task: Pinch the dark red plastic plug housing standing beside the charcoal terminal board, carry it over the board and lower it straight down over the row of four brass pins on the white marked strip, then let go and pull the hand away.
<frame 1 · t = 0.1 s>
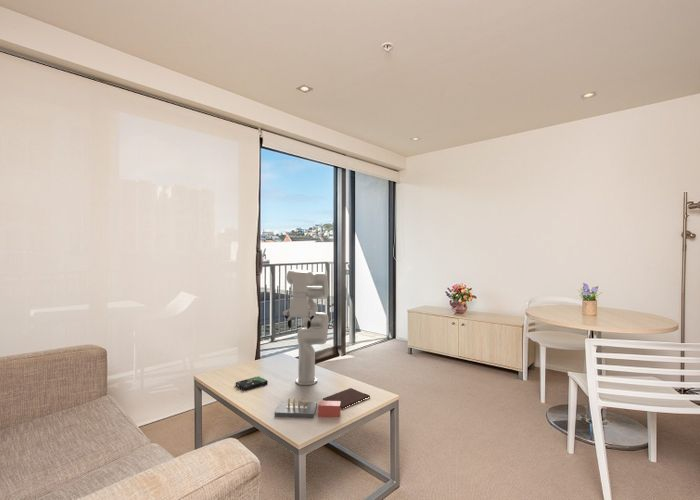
hand: (299, 328, 182), 37 cm above the table, fingers open, 9 cm apart
notebook: (346, 400, 182), on the table
terminal board: (296, 411, 167), on the table
disk drive: (251, 386, 199), on the table
plug housing: (329, 414, 165), on the table
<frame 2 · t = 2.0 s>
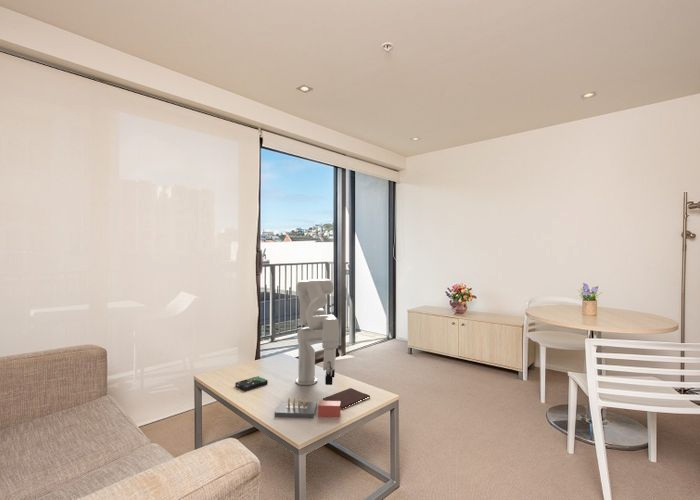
hand: (330, 380, 164), 16 cm above the table, fingers open, 9 cm apart
nothing on the table moved.
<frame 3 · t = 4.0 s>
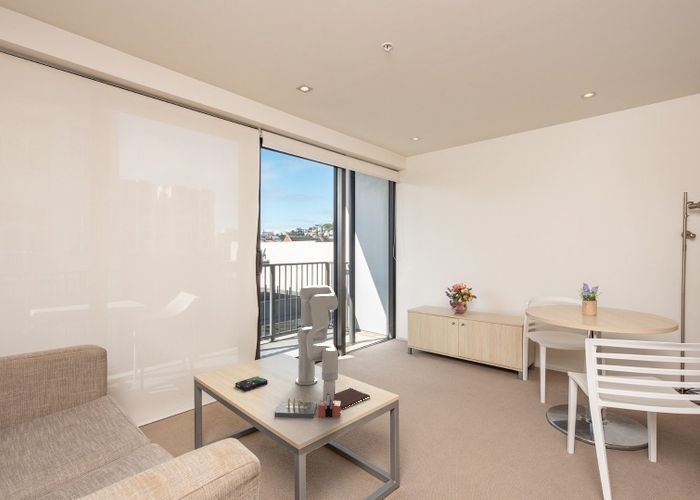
hand: (329, 413, 164), 1 cm above the table, fingers closed on plug housing, 5 cm apart
plug housing: (329, 414, 165), on the table, touching gripper
everything else where it was.
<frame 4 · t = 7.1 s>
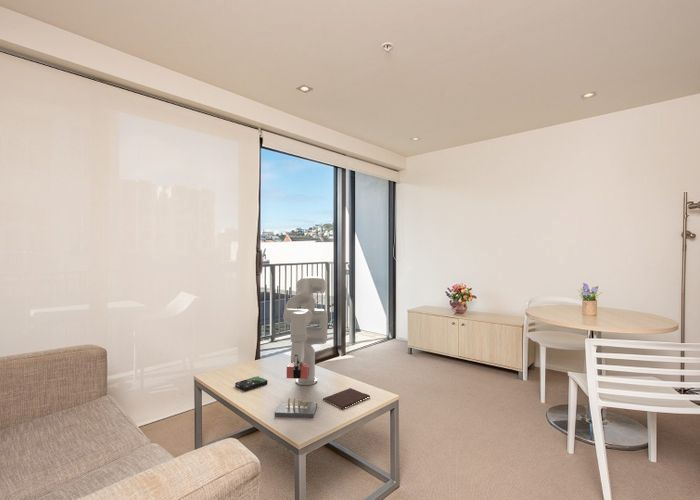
hand: (298, 375, 167), 17 cm above the table, fingers closed on plug housing, 5 cm apart
plug housing: (298, 376, 167), point 17 cm above the table, touching gripper
everything else where it was.
when the fingers open (3 cm above the table, at t = 10.4 s): plug housing stays where it is, resting on terminal board.
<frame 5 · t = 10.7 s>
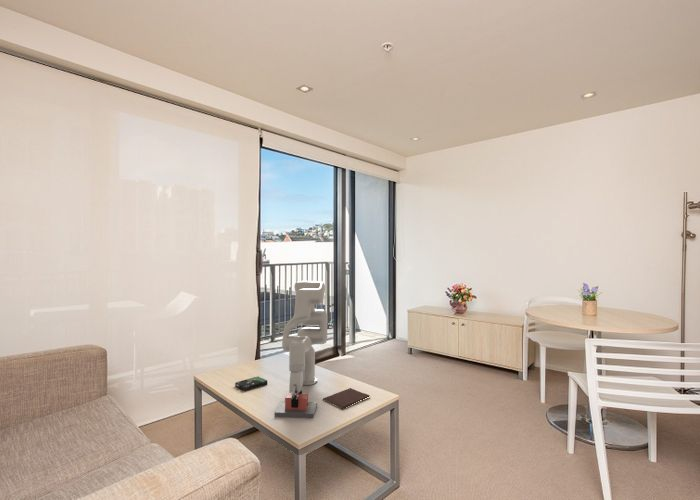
hand: (296, 403, 167), 4 cm above the table, fingers open, 8 cm apart
plug housing: (296, 407, 168), point 2 cm above the table, touching terminal board
everything else where it was.
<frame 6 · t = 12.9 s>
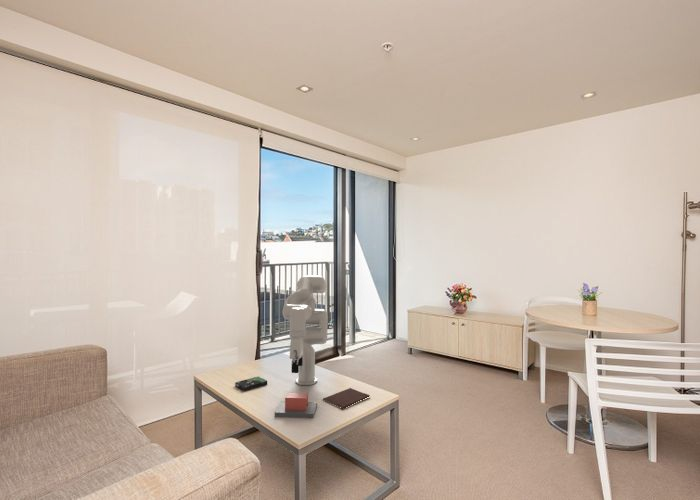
hand: (297, 369, 168), 20 cm above the table, fingers open, 9 cm apart
nothing on the table moved.
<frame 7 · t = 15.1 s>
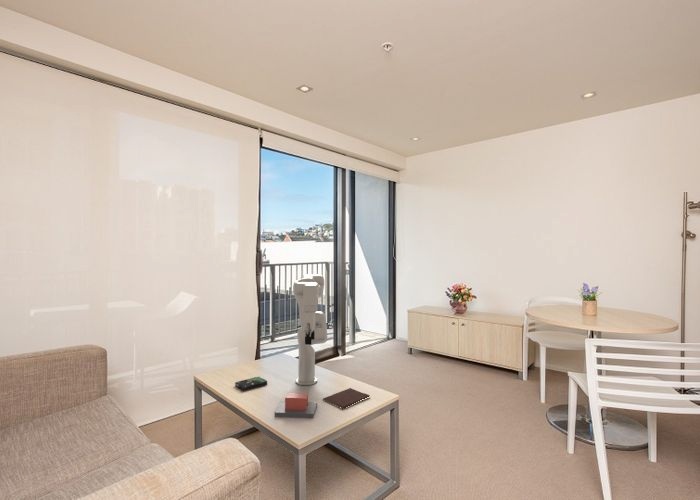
hand: (309, 341, 179), 30 cm above the table, fingers open, 9 cm apart
nothing on the table moved.
at the end: plug housing 0.1 cm off-centre on the terminal board, point 2.0 cm above the terminal board's base; plug housing tilted 0°; the gripper is holding nothing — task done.
